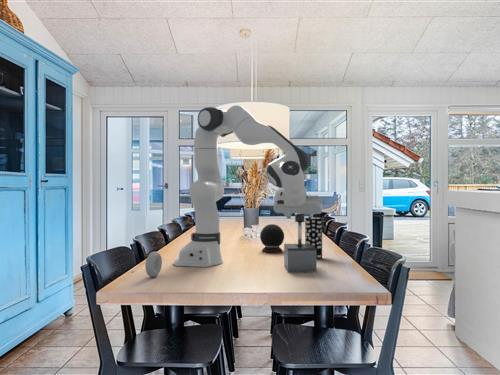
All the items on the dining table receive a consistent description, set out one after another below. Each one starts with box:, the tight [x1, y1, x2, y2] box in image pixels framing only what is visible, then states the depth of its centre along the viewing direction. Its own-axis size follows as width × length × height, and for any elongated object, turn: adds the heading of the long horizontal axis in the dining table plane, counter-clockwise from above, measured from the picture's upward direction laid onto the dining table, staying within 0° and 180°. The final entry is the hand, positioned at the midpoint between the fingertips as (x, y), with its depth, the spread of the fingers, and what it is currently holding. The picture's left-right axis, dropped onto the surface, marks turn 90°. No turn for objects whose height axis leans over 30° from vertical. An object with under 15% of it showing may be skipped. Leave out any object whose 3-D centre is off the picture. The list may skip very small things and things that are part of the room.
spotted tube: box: [304, 216, 323, 261], centre depth 184 cm, size 8×8×20 cm
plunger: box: [294, 213, 306, 247], centre depth 160 cm, size 8×8×17 cm
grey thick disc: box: [144, 251, 163, 278], centre depth 146 cm, size 10×3×10 cm, turn 168°
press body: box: [283, 243, 318, 273], centre depth 160 cm, size 12×12×10 cm
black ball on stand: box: [259, 223, 285, 254], centre depth 203 cm, size 13×13×15 cm
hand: (299, 217), depth 160 cm, fingers open, 8 cm apart
